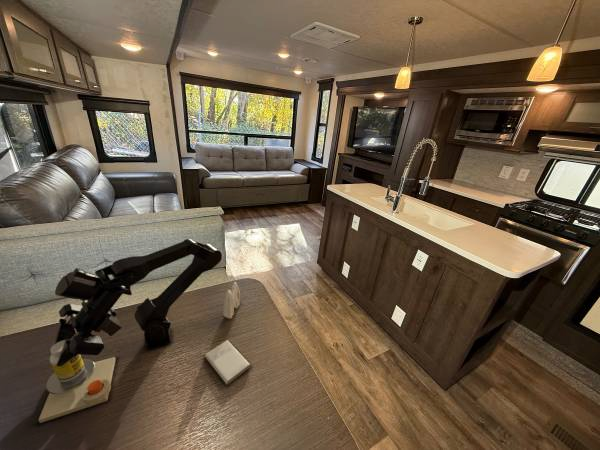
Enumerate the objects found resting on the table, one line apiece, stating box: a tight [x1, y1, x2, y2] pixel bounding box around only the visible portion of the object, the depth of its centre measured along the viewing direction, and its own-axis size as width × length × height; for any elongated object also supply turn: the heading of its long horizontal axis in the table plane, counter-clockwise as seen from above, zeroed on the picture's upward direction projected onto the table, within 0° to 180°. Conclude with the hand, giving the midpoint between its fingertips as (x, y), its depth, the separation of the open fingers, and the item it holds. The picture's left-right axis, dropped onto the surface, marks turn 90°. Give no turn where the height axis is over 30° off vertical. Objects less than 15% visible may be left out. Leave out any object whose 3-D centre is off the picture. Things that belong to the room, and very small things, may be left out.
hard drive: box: [204, 339, 251, 386], centre depth 77 cm, size 2×8×12 cm
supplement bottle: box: [49, 340, 84, 382], centre depth 64 cm, size 5×5×10 cm
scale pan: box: [46, 358, 95, 394], centre depth 66 cm, size 10×10×1 cm
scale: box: [38, 356, 116, 424], centre depth 66 cm, size 14×14×3 cm
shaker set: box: [222, 281, 241, 319], centre depth 95 cm, size 12×4×11 cm, turn 174°
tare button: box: [87, 380, 103, 395], centre depth 63 cm, size 3×3×2 cm
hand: (57, 358), depth 62 cm, fingers closed on supplement bottle, 5 cm apart
